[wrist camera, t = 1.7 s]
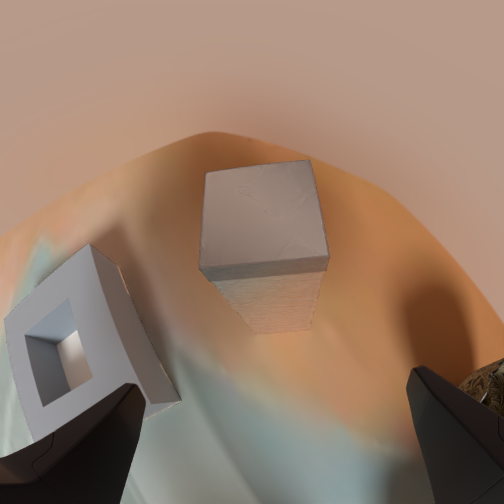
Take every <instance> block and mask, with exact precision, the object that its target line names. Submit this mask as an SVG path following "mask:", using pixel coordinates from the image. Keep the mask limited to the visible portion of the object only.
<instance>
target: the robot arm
mask: <svg viewBox="0 0 504 504" xmlns="http://www.w3.org/2000/svg"><path fill="white" fill-rule="evenodd" d="M406 391H407V396H408V400H409V404H410V409H411V413H412V418H413V423H414V428H415V431H416V435H417V438H418V441H419V444H420V447H421V451H422V454H423V457H424V461H425V464H426V468H427V472H428V475H429V479H430V483H431V487H432V491H433V495H434V500H435V504H504V418H503V417H502V416H500V415H498V414H497V413H496V412H494V411H493V410H491V409H489V408H488V407H486V406H485V405H483V404H482V403H480V402H479V401H477V400H476V399H474V398H473V397H471V396H470V395H468V394H467V393H465V392H464V391H462V390H461V389H459V388H458V387H456V386H455V385H453V384H452V383H450V382H449V381H447V380H445V379H444V378H442V377H441V376H439V375H438V374H436V373H435V372H433V371H432V370H430V369H429V368H427V367H426V366H423V365H422V366H418V367H414V368H413V369H412V370H411V372H410V376H409V379H408V382H407V386H406ZM145 408H146V400H145V397H144V395H143V394H142V392H141V390H140V388H139V386H138V385H137V384H135V383H125V384H123V385H122V386H120V387H119V388H117V389H116V390H115V391H113V392H112V393H110V394H109V395H107V396H106V397H104V398H103V399H101V400H100V401H98V402H97V403H96V404H94V405H93V406H91V407H90V408H88V409H87V410H85V411H84V412H82V413H81V414H79V415H78V416H76V417H75V418H73V419H72V420H70V421H69V422H67V423H65V424H64V425H62V426H61V427H59V428H58V429H56V430H55V431H53V432H52V433H50V434H48V435H47V436H45V437H44V438H42V439H40V440H38V441H37V442H35V443H33V444H31V445H29V446H27V447H25V448H23V449H21V450H19V451H17V452H15V453H12V454H10V455H8V456H6V457H2V458H0V504H120V501H121V497H122V494H123V490H124V487H125V483H126V480H127V477H128V473H129V470H130V467H131V463H132V460H133V457H134V454H135V451H136V447H137V444H138V441H139V437H140V432H141V427H142V422H143V417H144V412H145Z"/></svg>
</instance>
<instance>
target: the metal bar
mask: <svg viewBox="0 0 504 504" xmlns="http://www.w3.org/2000/svg"><path fill="white" fill-rule="evenodd" d="M329 258H330V255H329V249H328V243H327V237H326V232H325V227H324V221H323V216H322V211H321V206H320V201H319V197H318V192H317V187H316V183H315V178H314V174H313V170H312V165H311V161H310V160H300V161H289V162H279V163H269V164H261V165H253V166H245V167H237V168H230V169H223V170H217V171H210V172H206V173H205V183H204V195H203V207H202V220H201V235H200V251H199V270H200V271H201V272H202V273H203V275H204V276H205V277H206V278H207V280H208V281H209V282H212V283H213V284H214V285H215V286H216V287H217V289H218V290H219V291H220V292H221V294H222V295H223V296H224V297H225V299H226V300H227V301H228V302H229V303H230V305H231V306H232V307H233V308H234V309H235V311H236V312H237V313H238V314H239V315H240V317H241V318H242V319H243V320H244V321H245V323H246V324H247V325H248V326H249V327H250V328H251V330H252V331H253V332H254V333H255V334H270V333H283V332H294V331H305V330H309V328H310V325H311V321H312V318H313V314H314V310H315V306H316V302H317V299H318V295H319V291H320V287H321V283H322V278H323V274H324V271H326V270H327V266H328V262H329Z"/></svg>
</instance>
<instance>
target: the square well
mask: <svg viewBox="0 0 504 504" xmlns="http://www.w3.org/2000/svg"><path fill="white" fill-rule="evenodd" d="M4 324H5V332H6V339H7V346H8V352H9V357H10V362H11V367H12V372H13V376H14V380H15V384H16V388H17V392H18V396H19V399H20V403H21V406H22V409H23V412H24V415H25V418H26V421H27V424H28V427H29V430H30V432H31V435H32V438H33V440H34V443H35V442H37V441H38V440H40V439H42V438H44V437H45V436H47V435H48V434H50V433H52V432H53V431H55V430H56V429H58V428H59V427H61V426H62V425H64V424H65V423H67V422H69V421H70V420H72V419H73V418H75V417H76V416H78V415H79V414H81V413H82V412H84V411H85V410H87V409H88V408H90V407H91V406H93V405H94V404H96V403H97V402H98V401H100V400H101V399H103V398H104V397H106V396H107V395H109V394H110V393H112V392H113V391H115V390H116V389H117V388H119V387H120V386H122V385H123V384H125V383H135V384H137V385H138V386H139V388H140V390H141V392H142V394H143V395H144V397H145V400H146V408H145V412H144V417H143V421H144V420H146V419H148V418H150V417H152V416H154V415H156V414H158V413H160V412H162V411H164V410H166V409H168V408H169V407H171V406H173V405H175V404H177V403H179V402H181V399H180V397H179V395H178V394H177V392H176V390H175V388H174V387H173V385H172V383H171V381H170V379H169V377H168V376H167V374H166V372H165V370H164V368H163V366H162V364H161V362H160V360H159V358H158V356H157V354H156V352H155V350H154V348H153V346H152V344H151V342H150V340H149V338H148V336H147V333H146V331H145V329H144V327H143V325H142V322H141V320H140V318H139V316H138V313H137V311H136V309H135V306H134V304H133V301H132V299H131V297H130V294H129V292H128V289H127V287H126V284H125V281H124V279H123V276H122V273H121V271H120V268H119V266H118V265H116V264H115V263H114V262H112V261H111V260H110V259H109V258H107V257H106V256H105V255H104V254H102V253H101V252H100V251H99V250H97V249H96V248H95V247H94V246H92V245H91V244H90V243H88V244H87V245H86V246H84V247H83V248H82V249H81V250H79V251H78V252H77V253H76V254H74V255H73V256H72V257H71V258H70V259H68V260H67V261H66V262H65V263H64V264H62V265H61V266H60V267H59V268H58V269H56V270H55V271H54V272H53V273H52V274H51V275H50V276H48V277H47V278H46V279H45V280H44V281H43V282H42V283H41V284H39V285H38V286H37V287H36V288H35V289H34V290H33V291H32V292H31V293H30V294H29V295H28V296H27V297H26V298H24V299H23V300H22V301H21V302H20V303H19V304H18V305H17V306H16V307H15V308H14V309H13V310H12V311H11V312H10V313H9V314H8V315H7V316H6V317H5V318H4Z"/></svg>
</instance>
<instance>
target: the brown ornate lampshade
mask: <svg viewBox="0 0 504 504" xmlns="http://www.w3.org/2000/svg"><path fill="white" fill-rule="evenodd" d="M458 388H459V389H461V390H462V391H464V392H465V393H467V394H468V395H470V396H471V397H473V398H474V399H476V400H477V401H479V402H480V403H482V404H483V405H485V406H486V407H488V408H489V409H491V410H493V411H494V412H496V413H497V414H498V415H500V416H502V417H503V418H504V358H503V359H501V360H498V361H496V362H494V363H491V364H489V365H487V366H485V367H482V368H480V369H479V370H477V371H475V372H473V373H472V374H470V375H469V376H468V377H466V378H465V379H464V380H463V381H462V382H461V383H460V385H459V386H458Z"/></svg>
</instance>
